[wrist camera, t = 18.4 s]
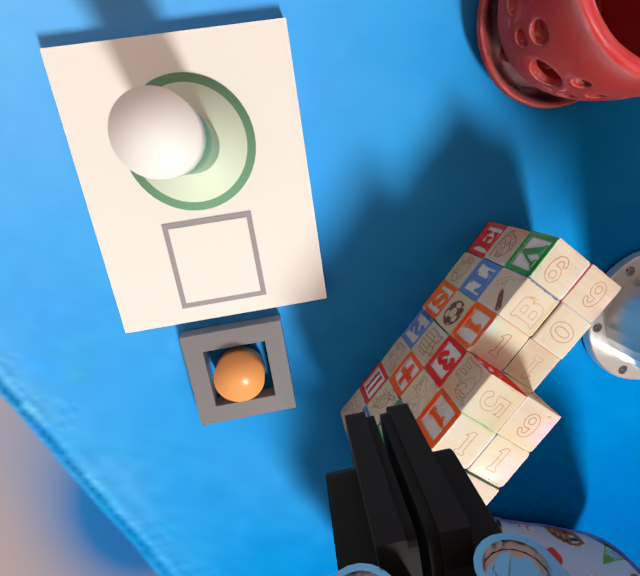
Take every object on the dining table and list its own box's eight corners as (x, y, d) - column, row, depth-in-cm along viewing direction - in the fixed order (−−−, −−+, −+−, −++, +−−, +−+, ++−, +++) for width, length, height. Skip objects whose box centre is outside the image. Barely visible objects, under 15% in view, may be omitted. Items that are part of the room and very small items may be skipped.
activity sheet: (285, 22, 29) (285, 16, 28) (325, 294, 35) (327, 298, 34) (47, 52, 28) (38, 48, 27) (130, 328, 34) (125, 333, 33)
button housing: (279, 314, 35) (280, 320, 33) (295, 398, 37) (296, 407, 36) (182, 331, 34) (179, 338, 33) (204, 415, 36) (202, 425, 35)
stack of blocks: (487, 218, 35) (599, 243, 23) (539, 259, 36) (668, 303, 24) (338, 412, 38) (368, 521, 26) (391, 442, 40) (442, 558, 28)
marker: (214, 108, 29) (190, 80, 19) (225, 171, 30) (207, 173, 21) (153, 115, 29) (96, 90, 19) (166, 178, 30) (120, 184, 20)
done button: (260, 342, 35) (259, 352, 33) (268, 384, 36) (268, 396, 34) (212, 350, 35) (208, 361, 33) (222, 393, 36) (219, 405, 34)
